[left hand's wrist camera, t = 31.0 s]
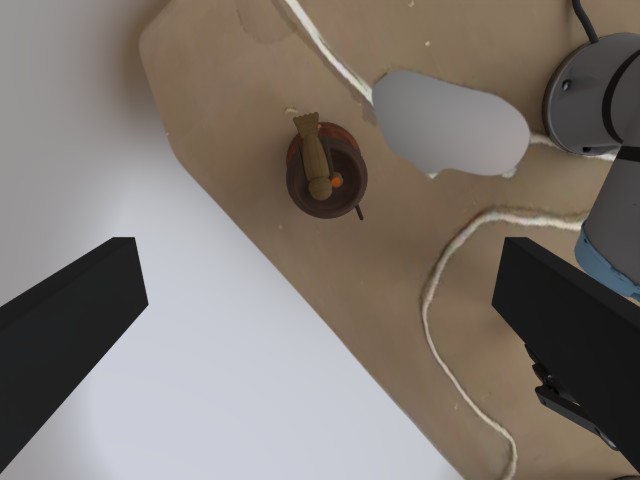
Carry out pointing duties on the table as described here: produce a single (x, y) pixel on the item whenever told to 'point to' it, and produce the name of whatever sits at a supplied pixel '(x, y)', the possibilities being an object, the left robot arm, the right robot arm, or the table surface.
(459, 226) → the table surface
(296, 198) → the music box
